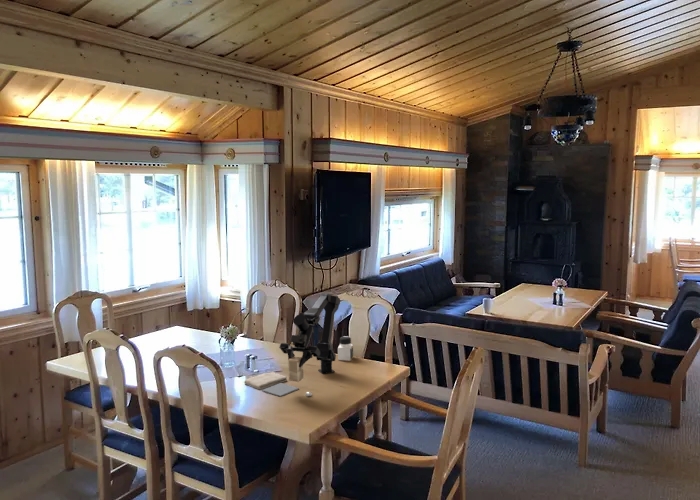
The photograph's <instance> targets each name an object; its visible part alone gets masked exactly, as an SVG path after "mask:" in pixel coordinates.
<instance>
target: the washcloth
mask: <svg viewBox="0 0 700 500" xmlns="http://www.w3.org/2000/svg"><path fill="white" fill-rule="evenodd" d="M287 381H288V379H287V376H285V375H282V374H279V373H277V372H274V371H271V372H267V373H264V372H263V373H261V374H259V375H255V376H252V377H248V378H246V379H245V380H244V382H243V383H244V384H245V385H247V386H250V387H252V388H254V389H256V390H263V389H266V388H269V387H271V386H274V385H276V384H279V383H284V382H287Z"/></svg>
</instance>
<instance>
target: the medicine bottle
mask: <svg viewBox="0 0 700 500" xmlns="http://www.w3.org/2000/svg"><path fill="white" fill-rule="evenodd" d="M352 359H354V344H352V338H351V337H350V336H348V335H347V336H345V335H344V336H341V337H339V345H338V347H337V360H338V361H347V362H350V361H352Z"/></svg>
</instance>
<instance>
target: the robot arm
mask: <svg viewBox="0 0 700 500" xmlns="http://www.w3.org/2000/svg"><path fill="white" fill-rule="evenodd" d="M340 304H341V298H339V296H338V295H331V294H329V293H320V294H319V297H318V298H317V299H316V301H315V303H314V304H313V306H312V307H310V309H307V310H305V312H299V313H298V314H297V315H295V317H294V318H293V319H292V322H293V324H294V326H295V327H296V329H297V330H298V331H299V333H298V334H295V335H294V334H291V335H290V342H289V343H288V342H281V343H280V344H279V349H280V350H281V352H282V353H283V354H285V355H286V354H287V360H288V359H290V358H292V357H296V355H295V353H294V352H299V353H302V356H301V357H302V358H301V361H300V364H299V367H301V366H302V365H303V366H304V364H305V363H307V362H308V361H309V360H310V359H312V358H313V357H315V359H316V361H320V369H318V372H319V373H321V374H323V375H326V374H331V373H335V370H333V362H335V361H336V358H337V355H336V353H335V351H334V346H333V344H332V341H331V340H332V335H333V327H334V326H333V325H334V322H335V321H334V320H335V319H334V318H335V313H336V312H337V311H338V310H339V306H340ZM323 311H324V318H323V327H322V334H321V338H320V339H321V340H320V341H319V342H317V343H316V345H309V344H311V338H312V334H314V333H315V329H314V327H313V326H317V325H318V324H319V322H320V318H321V317H320V315H321V313H322V312H323ZM290 343H292V345H293V346H291V344H290Z"/></svg>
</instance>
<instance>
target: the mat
mask: <svg viewBox="0 0 700 500" xmlns="http://www.w3.org/2000/svg"><path fill="white" fill-rule="evenodd" d="M298 390H300V388H299V387H296V386H293V385H289V384H286V383H284V382H281V383H278V384H275V385H272V386H269V387H266V388H263V389H261V391H262V392H263V393H267V394H269V395H274V396H277V397H283V396H286V395H289V394H290V393H294V392H296V391H298Z"/></svg>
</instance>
